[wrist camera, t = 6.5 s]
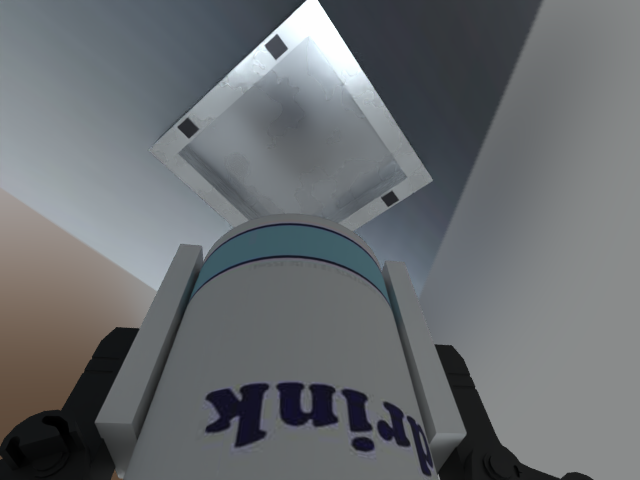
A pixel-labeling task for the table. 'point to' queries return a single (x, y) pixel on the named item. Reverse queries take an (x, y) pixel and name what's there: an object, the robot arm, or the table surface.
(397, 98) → the table surface
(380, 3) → the table surface
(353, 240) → the beverage can
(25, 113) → the table surface
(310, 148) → the rail plate
